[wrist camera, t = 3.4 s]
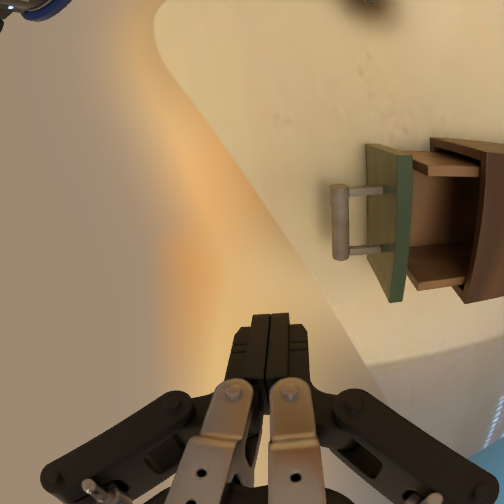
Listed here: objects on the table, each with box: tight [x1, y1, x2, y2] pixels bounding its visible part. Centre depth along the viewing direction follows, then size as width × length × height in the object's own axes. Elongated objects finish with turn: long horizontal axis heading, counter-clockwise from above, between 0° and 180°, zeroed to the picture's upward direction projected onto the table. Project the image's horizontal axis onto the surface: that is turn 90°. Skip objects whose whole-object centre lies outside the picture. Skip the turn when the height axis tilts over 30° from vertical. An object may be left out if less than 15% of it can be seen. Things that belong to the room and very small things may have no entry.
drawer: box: [330, 144, 481, 303], centre depth 22 cm, size 18×11×8 cm, turn 97°
